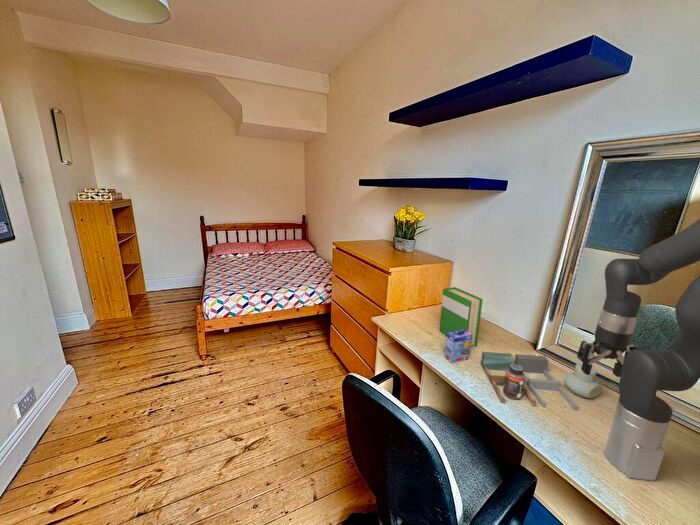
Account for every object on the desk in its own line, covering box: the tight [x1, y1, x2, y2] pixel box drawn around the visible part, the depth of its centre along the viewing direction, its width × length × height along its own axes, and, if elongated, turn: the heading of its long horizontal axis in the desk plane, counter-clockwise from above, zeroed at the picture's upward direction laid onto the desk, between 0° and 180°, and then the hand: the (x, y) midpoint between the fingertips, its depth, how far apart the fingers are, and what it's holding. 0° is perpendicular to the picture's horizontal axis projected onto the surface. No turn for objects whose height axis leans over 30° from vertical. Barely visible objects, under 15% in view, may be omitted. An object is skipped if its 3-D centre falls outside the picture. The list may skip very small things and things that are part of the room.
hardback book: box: [439, 286, 483, 348], centre depth 136 cm, size 18×7×24 cm, turn 22°
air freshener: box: [563, 362, 603, 399], centre depth 102 cm, size 11×8×10 cm
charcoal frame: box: [513, 353, 579, 411], centre depth 105 cm, size 23×11×6 cm, turn 172°
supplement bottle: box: [502, 364, 526, 400], centre depth 100 cm, size 6×6×11 cm
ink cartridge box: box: [443, 329, 472, 363], centre depth 121 cm, size 10×6×14 cm, turn 111°
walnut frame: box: [479, 351, 537, 407], centre depth 107 cm, size 23×11×6 cm, turn 172°
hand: (600, 374), depth 85 cm, fingers open, 8 cm apart
